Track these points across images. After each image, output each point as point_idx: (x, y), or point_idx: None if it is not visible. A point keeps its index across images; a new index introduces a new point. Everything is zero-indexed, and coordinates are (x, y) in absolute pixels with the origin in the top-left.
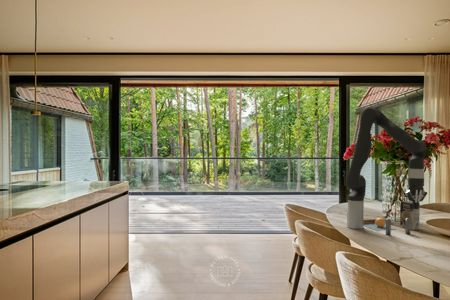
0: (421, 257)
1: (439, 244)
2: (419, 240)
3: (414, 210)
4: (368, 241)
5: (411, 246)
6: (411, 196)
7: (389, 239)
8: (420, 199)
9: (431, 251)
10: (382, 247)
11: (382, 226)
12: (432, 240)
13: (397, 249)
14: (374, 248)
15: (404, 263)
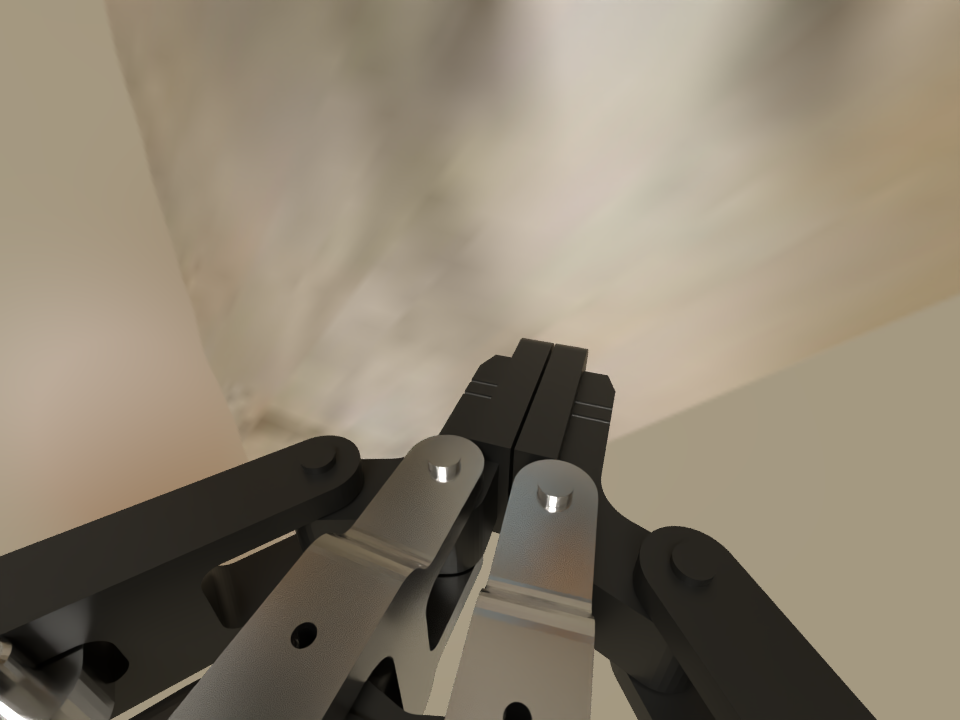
0: (359, 452)
1: (718, 353)
2: (667, 199)
3: None
4: (191, 108)
5: (438, 315)
6: (196, 654)
7: (389, 86)
8: (613, 659)
9: None
10: (241, 270)
11: None
12: (818, 238)
13: (311, 329)
14: (191, 270)
15: (252, 460)
